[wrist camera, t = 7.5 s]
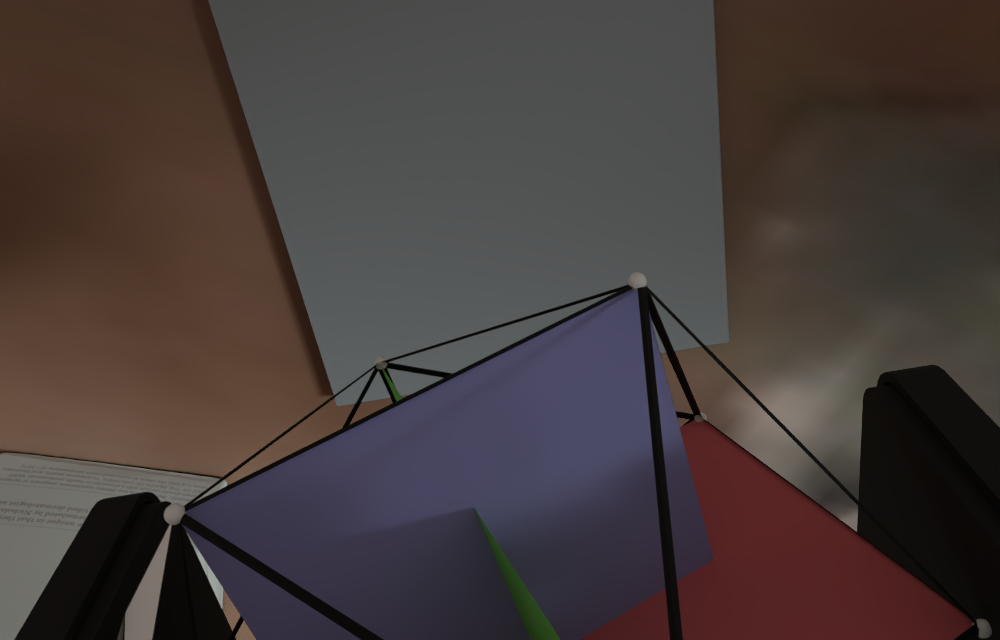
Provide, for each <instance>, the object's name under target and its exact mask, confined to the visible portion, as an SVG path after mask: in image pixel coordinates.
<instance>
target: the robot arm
mask: <svg viewBox="0 0 1000 640" xmlns="http://www.w3.org/2000/svg"><path fill="white" fill-rule="evenodd" d="M859 502H860V503H861V504H862V505H863V506H864V507H865V508H866V509H867V510H868V511H869V512H870V513H871V514H872V515H873V516H874V517H875V518H876V519H877V521H878V522H879V523H880V524H881V525H882V526H883V527H884V528H885V529H886V530H887V531H888V532H889V533H890V534H891V535H892V536H893V537H894V538H895V539H896V540H897V541H898V542H899V543H900V544H901V545H902V546H903V547H904V548H905V549H906V550H907V551H908V552H909V553H910V554H911V555H912V556H913V557H914V558H915V559H916V560H917V561H918V562H919V563H920V564H921V565H922V566H923V567H924V568H925V569H926V570H927V571H928V572H929V573H930V574H931V575H932V576H933V577H934V578H935V579H936V580H937V581H938V582H939V583H940V585H941V586H942V587H943V588H944V589H945V590H946V591H947V592H948V593H949V594H950V595H951V596H952V597H953V598H954V599H955V600H956V601H957V602H958V603H959V604H960V605H961V606H962V607H963V608H964V609H965V610H966V611H967V612H968V613H969V614H970V615H971V616H972V617H973V618H974V619H975V620H976V619H985V620H987V621H988V623H989V624H990V627H991V630H992V634H991V636H990V637H988V638H980V637H979V639H978V640H1000V428H999V427H998V426H997V425H996V423H995V422H994V421H993V420H992V419H991V418H990V417H989V416H988V415H987V414H986V413H985V412H984V411H983V410H982V409H981V408H980V407H979V406H978V405H977V404H976V403H975V402H974V401H973V400H972V399H971V398H970V397H969V396H968V395H967V394H966V393H965V392H964V391H963V389H962V388H961V387H960V386H959V385H958V384H957V383H956V382H955V381H954V380H953V379H952V378H951V377H950V376H949V375H948V374H947V373H946V372H945V371H944V370H943V369H941V368H940V367H939V366H936V365H928V366H921V367H915V368H909V369H903V370H897V371H890V372H885V373H883V374H881V375H880V377H879V379H878V383H877V387H872V388H868V389H866V391H865V393H864V397H863V412H862V435H861V457H860V480H859ZM169 505H171V503H170V502H168V501H163V502H161V501H160V500H159V498H158V497H157V496H156V495H155V494H153V493H152V492H142V493H136V494H129V495H123V496H117V497H111V498H105V499H102V500H100V501H98V502H97V503H96V504H95V505H94V506H93V508H92V509H91V511H90V513H89V514H88V516H87V518H86V519H85V521H84V523H83V524H82V526H81V528H80V529H79V531H78V533H77V535H76V536H75V538H74V540H73V541H72V543H71V545H70V546H69V548H68V550H67V551H66V553H65V555H64V556H63V558H62V560H61V562H60V563H59V565H58V567H57V568H56V570H55V572H54V573H53V575H52V577H51V578H50V580H49V582H48V583H47V585H46V587H45V589H44V590H43V592H42V594H41V595H40V597H39V599H38V600H37V602H36V604H35V605H34V607H33V609H32V610H31V612H30V614H29V616H28V617H27V619H26V621H25V622H24V624H23V626H22V627H21V629H20V631H19V632H18V634H17V636H16V637H15V639H14V640H117V637H118V633H119V630H120V626H121V623H122V620H123V616H124V613H125V610H126V608H127V606H128V604H129V602H130V600H131V598H132V596H133V594H134V592H135V590H136V588H137V586H138V584H139V582H140V580H141V578H142V576H143V574H144V572H145V570H146V568H147V566H148V564H149V562H150V560H151V558H152V556H153V554H154V552H155V550H156V548H157V546H158V544H159V542H160V540H161V538H162V536H163V534H164V532H165V530H166V528H167V526H168V524H169V523H167V522H166V521H165V519H164V511H165V509H166V508H167V507H168V506H169ZM181 529H182V536H183V543H184V550H185V557H186V564H187V571H188V578H189V585H190V591H191V598H192V605H193V612H194V619H195V626H196V633H197V640H228V639H229V637H230V635H231V633H232V630H231V627H230V625H229V623H228V621H227V619H226V617H225V614H224V612H223V610H222V608H221V606H220V604H219V601H218V599H217V597H216V595H215V593H214V591H213V589H212V586H211V584H210V582H209V580H208V578H207V576H206V573H205V571H204V569H203V567H202V565H201V563H200V560H199V558H198V556H197V554H196V552H195V550H194V547H193V545H192V543H191V541H190V539H189V537H188V534H187V532H186V530H185V529H184V527H183V526H182V524H181ZM857 533H858V534H860V535H861V536H863V537H864V538H865V539H867V540H868V541H869V542H871V543H872V544H873V545H875V546H876V547H877V548H879V549H880V550H881V551H883V552H884V553H885V554H887V555H888V556H889V557H891V558H892V559H894V560H895V561H896V562H898V563H899V564H900V565H902V566H903V567H904V568H906V569H907V570H908V571H910V572H911V573H912V574H914V575H915V576H916V577H918V578H919V579H920V580H922V581H923V582H925V583H926V584H927V585H929V586H930V587H931V588H933V589H934V590H935V591H937V592H938V593H939V594H941V595H942V596H943V597H945V598H946V599H947V600H949V601H950V602H951V603H953V602H952V600H951V599H950V598H949V597H948V596H947V595H946V594H945V593H944V592H943V591H942V590H941V589H940V588H939V587H938V586H937V585H936V584H935V583H934V582H933V581H932V580H931V579H930V578H929V577H928V576H927V575H926V574H925V573H924V572H923V571H922V570H921V569H920V568H919V567H918V566H917V565H916V564H915V563H914V562H913V561H912V560H911V559H910V558H909V557H908V556H907V555H906V554H905V553H904V552H903V551H902V550H901V549H900V548H899V547H898V546H897V545H896V544H895V543H894V542H893V541H892V540H891V539H890V538H889V536H888V535H887V534H886V533H885V532H884V531H883V530H882V529H881V528H880V527H879V526H878V525H877V524H876V523H875V522H874V521H873V520H872V519H871V518H870V517H869V516H868V515H867V514H866V513H865V512H864V511H863V510H862V509H861V508H860V507H859V506H858V525H857ZM953 604H954V603H953ZM954 605H955V604H954ZM188 609H189V608H188ZM189 619H190V614H189ZM190 628H191V638H192V640H193V634H192V627H191V621H190ZM124 632H125V621H124ZM123 640H124V636H123ZM153 640H188V639H187V630H186V620H185V610H184V601H183V591H182V582H181V572H180V563H179V553H178V544H177V534H176V525H172V529H171V535H170V541H169V547H168V553H167V559H166V565H165V570H164V576H163V582H162V588H161V594H160V600H159V606H158V612H157V618H156V623H155V629H154V635H153ZM233 640H236V638H235V637H234V639H233ZM973 640H974V639H973Z"/></svg>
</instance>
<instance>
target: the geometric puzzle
mask: <svg viewBox="0 0 1000 640" xmlns="http://www.w3.org/2000/svg"><path fill="white" fill-rule="evenodd" d="M646 283H647V280H646V277H645V276H644V275H643V274H642V273H639V272H636V273H633V274H631V275H630V277H629V279H628V285H625V286H622V287H619V288H616V289H612V290H609V291H606V292H603V293H600V294H596V295H593V296H590V297H587V298H584V299H580V300H577V301H574V302H571V303H568V304H564V305H561V306H558V307H555V308H552V309H548V310H545V311H542V312H539V313H536V314H532V315H529V316H526V317H523V318H519V319H516V320H513V321H510V322H507V323H503V324H500V325H497V326H494V327H491V328H487V329H484V330H481V331H478V332H475V333H471V334H468V335H465V336H462V337H459V338H455V339H452V340H449V341H446V342H443V343H439V344H436V345H433V346H430V347H427V348H423V349H420V350H417V351H414V352H411V353H407V354H404V355H401V356H398V357H395V358H391V359H388V360H387V359H386V358H384V357H378V358H377V359H376V360H375V366H373V367H372V368H371V369H369V370H368V371H367V372H365V373H364V374H362V375H361V376H360V377H358V378H357V379H356V380H354V381H353V382H352V383H350V384H349V385H347V386H346V387H345V388H343V389H342V390H341V391H339V392H338V393H337V394H335V395H334V396H333V397H331V398H330V399H328V400H327V401H326V402H324V403H323V404H322V405H320V406H319V407H318V408H316V409H315V410H314V411H312V412H311V413H309V414H308V415H307V416H305V417H304V418H303V419H301V420H300V421H299V422H297V423H296V424H294V425H293V426H292V427H290V428H289V429H288V430H286V431H285V432H284V433H282V434H281V435H280V436H278V437H277V438H275V439H274V440H273V441H271V442H270V443H269V444H267V445H266V446H265V447H263V448H262V449H260V450H259V451H258V452H256V453H255V454H254V455H252V456H251V457H250V458H248V459H247V460H246V461H244V462H243V463H241V464H240V465H239V466H237V467H236V468H235V469H233V470H232V471H231V472H229V473H228V474H227V475H225V476H224V477H222V478H221V479H220V480H218V481H217V482H216V483H214V484H213V485H212V486H210V487H209V488H207V489H206V490H205V491H203V492H202V493H201V494H199V495H198V496H197V497H195V498H194V499H193V500H191V501H190V502H188V503H187V504H186V505H184V506H183V505H181V504H178V503H174V504H171V505H169V506H168V507H167V508H166V509H165V511H164V519H165V521H166V522H167V523H169V524H168V526H167V528H166V530H165V532H164V534H163V536H162V538H161V540H160V542H159V544H158V546H157V548H156V550H155V552H154V554H153V556H152V558H151V560H150V562H149V564H148V566H147V568H146V570H145V572H144V574H143V576H142V578H141V580H140V582H139V584H138V586H137V588H136V590H135V592H134V594H133V596H132V598H131V600H130V602H129V604H128V606H127V608H126V610H125V613H124V616H123V620H122V623H121V626H120V630H119V633H118V637H117V640H123V636H124V640H153V635H154V629H155V623H156V618H157V612H158V606H159V600H160V594H161V588H162V582H163V576H164V570H165V565H166V559H167V553H168V547H169V541H170V535H171V529H172V525H176V534H177V544H178V553H179V563H180V572H181V582H182V591H183V601H184V610H185V620H186V630H187V639H188V640H192V638H191V628H190V621H191V627H192V634H193V640H197V633H196V626H195V619H194V612H193V605H192V598H191V591H190V585H189V578H188V571H187V564H186V557H185V550H184V543H183V536H182V529H181V524H182V526H183V527H184V529H185V530H186V532H187V533H188V535H189V536H190V538H191V539H192V541H193V542H194V544H195V546H196V547H197V549H198V550H199V552H200V553H201V555H202V556H203V558H204V559H205V561H206V563H207V564H208V566H209V567H210V569H211V570H212V572H213V573H214V575H215V576H216V578H217V579H218V581H219V583H220V584H221V586H222V587H223V589H224V590H225V592H226V593H227V595H228V596H229V598H230V599H231V601H232V603H233V604H234V606H235V607H236V609H237V610H238V612H239V613H240V615H241V617H240V618H239V620H238V622H237V624H236V626H235V628H234V630H233V631H232V633H231V635H230V637H229V639H228V640H233V639H234V637H235V635H236V634H237V632H238V630H239V628H240V626H241V624H242V622H243V621H245V623H246V624H247V626H248V627H249V629H250V630H251V632H252V633H253V635H254V636H255V638H256V639H257V640H973V639H974V640H978V639H979V637H980V638H988V637H990V636H991V634H992V630H991V627H990V624H989V623H988V621H987V620H985V619H976V620H975V619H974V618H973V617H972V616H971V615H970V614H969V613H968V612H967V611H966V610H965V609H964V608H963V607H962V606H961V605H960V604H959V603H958V602H957V601H956V600H955V599H954V598H953V597H952V596H951V595H950V594H949V593H948V592H947V591H946V590H945V589H944V588H943V587H942V586H941V585H940V583H939V582H938V581H937V580H936V579H935V578H934V577H933V576H932V575H931V574H930V573H929V572H928V571H927V570H926V569H925V568H924V567H923V566H922V565H921V564H920V563H919V562H918V561H917V560H916V559H915V558H914V557H913V556H912V555H911V554H910V553H909V552H908V551H907V550H906V549H905V548H904V547H903V546H902V545H901V544H900V543H899V542H898V541H897V540H896V539H895V538H894V537H893V536H892V535H891V534H890V533H889V532H888V531H887V530H886V529H885V528H884V527H883V526H882V525H881V524H880V523H879V522H878V521H877V519H876V518H875V517H874V516H873V515H872V514H871V513H870V512H869V511H868V510H867V509H866V508H865V507H864V506H863V505H862V504H861V503H860V502H859V501H858V500H857V499H856V498H855V497H854V496H853V495H852V494H851V493H850V492H849V491H848V490H847V489H846V488H845V487H844V486H843V485H842V484H841V483H840V482H839V481H838V480H837V479H836V478H835V477H834V476H833V475H832V474H831V473H830V472H829V471H828V470H827V469H826V468H825V467H824V466H823V465H822V464H821V463H820V462H819V461H818V460H817V459H816V458H815V457H814V455H813V454H812V453H811V452H810V451H809V450H808V449H807V448H806V447H805V446H804V445H803V444H802V443H801V442H800V441H799V440H798V439H797V438H796V437H795V436H794V435H793V434H792V433H791V432H790V431H789V430H788V429H787V428H786V427H785V426H784V425H783V424H782V423H781V422H780V421H779V420H778V419H777V418H776V417H775V416H774V415H773V414H772V413H771V412H770V411H769V410H768V409H767V408H766V407H765V406H764V405H763V404H762V403H761V402H760V401H759V400H758V399H757V398H756V397H755V396H754V395H753V394H752V393H751V391H750V390H749V389H748V388H747V387H746V386H745V385H744V384H743V383H742V382H741V381H740V380H739V379H738V378H737V377H736V376H735V375H734V374H733V373H732V372H731V371H730V370H729V369H728V368H727V367H726V366H725V365H724V364H723V363H722V362H721V361H720V360H719V359H718V358H717V357H716V356H715V355H714V354H713V353H712V352H711V351H710V350H709V349H708V348H707V347H706V346H705V345H704V344H703V343H702V342H701V341H700V340H699V339H698V338H697V337H696V336H695V335H694V334H693V333H692V332H691V331H690V330H689V329H688V327H687V326H686V325H685V324H684V323H683V322H682V321H681V320H680V319H679V318H678V317H677V316H676V315H675V314H674V313H673V312H672V311H671V310H670V309H669V308H668V307H667V306H666V305H665V304H664V303H663V302H662V301H661V300H660V299H659V298H658V297H657V296H656V295H655V294H654V293H653V292H652V291H651V290H650V289H649V288H648V287H647V286H646ZM615 292H616V293H615ZM611 293H614V294H612V295H610V296H608V297H606V298H604V299H602V300H600V301H598V302H596V303H594V304H592V305H590V306H588V307H586V308H584V309H582V310H579V311H577V312H575V313H573V314H571V315H569V316H567V317H565V318H563V319H561V320H559V321H557V322H555V323H553V324H551V325H549V326H547V327H545V328H543V329H541V330H539V331H537V332H535V333H533V334H531V335H529V336H527V337H525V338H523V339H521V340H519V341H517V342H515V343H513V344H511V345H509V346H507V347H505V348H503V349H501V350H499V351H497V352H495V353H493V354H491V355H489V356H487V357H485V358H483V359H481V360H479V361H477V362H475V363H473V364H471V365H469V366H467V367H465V368H463V369H461V370H459V371H457V372H455V373H447V372H441V371H435V370H429V369H423V368H418V367H412V366H406V365H400V364H394V363H388V362H391V361H394V360H397V359H400V358H404V357H407V356H410V355H413V354H417V353H420V352H423V351H426V350H430V349H433V348H436V347H439V346H442V345H446V344H449V343H452V342H455V341H459V340H462V339H465V338H468V337H472V336H475V335H478V334H481V333H485V332H488V331H491V330H494V329H498V328H501V327H504V326H507V325H511V324H514V323H517V322H520V321H524V320H527V319H530V318H533V317H537V316H540V315H543V314H546V313H550V312H553V311H556V310H559V309H563V308H566V307H569V306H572V305H576V304H579V303H582V302H585V301H589V300H592V299H595V298H598V297H602V296H605V295H608V294H611ZM651 296H652V297H653V298H654V299H655V300H656V301H657V302H658V303H659V304H660V305H661V306H662V307H663V308H664V309H665V310H666V311H667V312H668V313H669V314H670V315H671V316H672V317H673V318H674V319H675V320H676V321H677V322H678V323H679V324H680V325H681V326H682V327H683V328H684V329H685V330H686V331H687V332H688V333H689V334H690V335H691V336H692V337H693V338H694V339H695V340H696V341H697V342H698V343H699V344H700V346H701V347H702V348H703V349H704V350H705V351H706V352H707V353H708V354H709V355H710V356H711V357H712V358H713V359H714V360H715V361H716V362H717V363H718V364H719V365H720V366H721V367H722V368H723V369H724V370H725V371H726V372H727V373H728V374H729V375H730V376H731V377H732V378H733V379H734V380H735V381H736V382H737V383H738V384H739V385H740V386H741V387H742V388H743V389H744V390H745V391H746V392H747V393H748V394H749V395H750V396H751V397H752V398H753V399H754V400H755V401H756V402H757V403H758V404H759V405H760V406H761V407H762V408H763V410H764V411H765V412H766V413H767V414H768V415H769V416H770V417H771V418H772V419H773V420H774V421H775V422H776V423H777V424H778V425H779V426H780V427H781V428H782V429H783V430H784V431H785V432H786V433H787V434H788V435H789V436H790V437H791V438H792V439H793V440H794V441H795V442H796V443H797V444H798V445H799V446H800V447H801V448H802V449H803V450H804V451H805V452H806V453H807V454H808V455H809V456H810V457H811V458H812V459H813V460H814V461H815V462H816V463H817V464H818V465H819V466H820V467H821V468H822V469H823V470H824V471H825V472H826V474H827V475H828V476H829V477H830V478H831V479H832V480H833V481H834V482H835V483H836V484H837V485H838V486H839V487H840V488H841V489H842V490H843V491H844V492H845V493H846V494H847V495H848V496H849V497H850V498H851V499H852V500H853V501H854V502H855V503H856V504H857V505H858V506H859V507H860V508H861V509H862V510H863V511H864V512H865V513H866V514H867V515H868V516H869V517H870V518H871V519H872V520H873V521H874V522H875V523H876V524H877V525H878V526H879V527H880V528H881V529H882V530H883V531H884V532H885V533H886V534H887V535H888V536H889V538H890V539H891V540H892V541H893V542H894V543H895V544H896V545H897V546H898V547H899V548H900V549H901V550H902V551H903V552H904V553H905V554H906V555H907V556H908V557H909V558H910V559H911V560H912V561H913V562H914V563H915V564H916V565H917V566H918V567H919V568H920V569H921V570H922V571H923V572H924V573H925V574H926V575H927V576H928V577H929V578H930V579H931V580H932V581H933V582H934V583H935V584H936V585H937V586H938V587H939V588H940V589H941V590H942V591H943V592H944V593H945V594H946V595H947V596H948V597H949V598H950V599H951V600H952V602H953V603H954V604H955V605H954V604H953V603H951V602H950V601H949V600H947V599H946V598H945V597H943V596H942V595H941V594H939V593H938V592H937V591H935V590H934V589H933V588H931V587H930V586H929V585H927V584H926V583H925V582H923V581H922V580H920V579H919V578H918V577H916V576H915V575H914V574H912V573H911V572H910V571H908V570H907V569H906V568H904V567H903V566H902V565H900V564H899V563H898V562H896V561H895V560H894V559H892V558H891V557H889V556H888V555H887V554H885V553H884V552H883V551H881V550H880V549H879V548H877V547H876V546H875V545H873V544H872V543H871V542H869V541H868V540H867V539H865V538H864V537H863V536H861V535H860V534H858V533H857V532H856V531H854V530H853V529H852V528H850V527H849V526H848V525H846V524H845V523H844V522H842V521H841V520H840V519H838V518H837V517H836V516H834V515H833V514H831V513H830V512H829V511H827V510H826V509H825V508H823V507H822V506H821V505H819V504H818V503H817V502H815V501H814V500H813V499H811V498H810V497H809V496H807V495H806V494H805V493H803V492H802V491H800V490H799V489H798V488H796V487H795V486H794V485H792V484H791V483H790V482H788V481H787V480H786V479H784V478H783V477H782V476H780V475H779V474H778V473H776V472H775V471H774V470H772V469H771V468H769V467H768V466H767V465H765V464H764V463H763V462H761V461H760V460H759V459H757V458H756V457H755V456H753V455H752V454H751V453H749V452H748V451H747V450H745V449H744V448H743V447H741V446H740V445H738V444H737V443H736V442H734V441H733V440H732V439H730V438H729V437H728V436H726V435H725V434H724V433H722V432H721V431H720V430H718V429H717V428H716V427H714V426H713V425H712V424H710V423H709V422H707V417H706V415H705V414H704V413H701V412H700V411H699V408H698V406H697V404H696V401H695V399H694V397H693V394H692V392H691V389H690V387H689V385H688V382H687V380H686V378H685V375H684V373H683V370H682V368H681V366H680V363H679V361H678V358H677V356H676V354H675V351H674V349H673V347H672V344H671V342H670V339H669V337H668V335H667V332H666V330H665V328H664V325H663V323H662V320H661V318H660V316H659V313H658V311H657V309H656V306H655V304H654V301H653V299H652V297H651ZM651 319H652V320H651ZM652 322H653V324H654V326H655V328H656V330H657V333H658V335H659V337H660V339H661V342H662V344H663V346H664V348H665V351H666V353H667V355H668V357H669V360H670V362H671V364H672V366H673V369H674V371H675V373H676V375H677V378H678V380H679V382H680V384H681V386H682V389H683V391H684V393H685V395H686V398H687V400H688V402H689V404H690V407H691V409H692V411H693V413H694V414H688V413H682V412H676V411H675V408H674V404H673V401H672V397H671V393H670V389H669V385H668V381H667V378H666V374H665V370H664V366H663V362H662V358H661V355H660V351H659V347H658V343H657V339H656V335H655V331H654V328H653V324H652ZM374 368H375V369H374ZM387 368H389V369H395V370H401V371H407V372H412V373H418V374H424V375H430V376H436V377H442V378H443V379H441V380H439V381H437V382H435V383H433V384H431V385H429V386H427V387H425V388H423V389H421V390H419V391H417V392H415V393H413V394H411V395H409V396H407V397H405V398H402V397H401V395H400V394H399V392H398V391H397V389H396V388H395V385H394V383H393V381H392V379H391V376H390V374H389V372H388V370H387ZM373 369H374V371H373V372H372V374H371V376H370V378H369V380H368V382H367V383H366V385H365V387H364V389H363V391H362V393H361V395H360V396H359V398H358V400H357V402H356V404H355V406H354V408H353V409H352V411H351V413H350V415H349V417H348V419H347V420H346V422H345V424H344V426H343V428H342V429H340V430H338V431H336V432H334V433H332V434H330V435H328V436H326V437H324V438H322V439H320V440H318V441H316V442H314V443H312V444H310V445H308V446H306V447H304V448H302V449H300V450H298V451H296V452H294V453H292V454H290V455H288V456H286V457H284V458H282V459H280V460H278V461H276V462H274V463H272V464H270V465H268V466H266V467H264V468H262V469H260V470H258V471H256V472H254V473H252V474H250V475H248V476H246V477H244V478H242V479H240V480H238V481H236V482H234V483H232V484H230V485H228V486H226V487H224V488H222V489H220V490H218V491H216V492H214V493H212V494H210V495H208V496H206V497H204V498H202V499H200V500H198V499H199V498H200V497H202V496H203V495H204V494H206V493H207V492H208V491H210V490H211V489H212V488H214V487H215V486H216V485H218V484H219V483H220V482H222V481H223V480H224V479H226V478H227V477H228V476H230V475H231V474H233V473H234V472H235V471H237V470H238V469H239V468H241V467H242V466H243V465H245V464H246V463H247V462H249V461H250V460H251V459H253V458H254V457H255V456H257V455H258V454H259V453H261V452H262V451H263V450H265V449H266V448H268V447H269V446H270V445H272V444H273V443H274V442H276V441H277V440H278V439H280V438H281V437H282V436H284V435H285V434H286V433H288V432H289V431H290V430H292V429H293V428H294V427H296V426H297V425H298V424H300V423H301V422H303V421H304V420H305V419H307V418H308V417H309V416H311V415H312V414H313V413H315V412H316V411H317V410H319V409H320V408H321V407H323V406H324V405H325V404H327V403H328V402H329V401H331V400H332V399H333V398H335V397H336V396H338V395H339V394H340V393H342V392H343V391H344V390H346V389H347V388H348V387H350V386H351V385H352V384H354V383H355V382H356V381H358V380H359V379H360V378H362V377H363V376H364V375H366V374H367V373H368V372H370V371H371V370H373ZM378 371H379V373H380V375H381V377H382V380H383V382H384V384H385V386H386V388H387V391H388V393H389V395H390V397H391V399H392V402H393V404H391V405H389V406H387V407H385V408H383V409H381V410H379V411H377V412H374V413H372V414H370V415H368V416H366V417H364V418H362V419H360V420H358V421H356V422H354V423H352V424H350V422H351V420H352V418H353V417H354V415H355V413H356V411H357V409H358V407H359V405H360V404H361V402H362V400H363V398H364V396H365V394H366V392H367V391H368V389H369V387H370V385H371V383H372V381H373V379H374V378H375V376H376V374H377V372H378ZM677 417H679V418H685V419H690V420H689V421H688V422H687V423H685V424H684V425H683V426H682V427H679V424H678V420H677ZM349 424H350V425H349ZM196 500H198V501H196ZM195 501H196V502H195ZM193 502H194V503H193ZM188 608H189V609H188ZM189 614H190V619H189ZM124 621H125V632H124Z"/></svg>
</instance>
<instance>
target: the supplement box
mask: <svg viewBox="0 0 1000 640" xmlns="http://www.w3.org/2000/svg"><path fill="white" fill-rule="evenodd" d="M218 480H220V479H219V478H213V477H206V476H197V475H191V474H183V473H176V472H167V471H158V470H151V469H144V468H136V467H127V466H120V465H113V464H106V463H97V462H89V461H79V460H72V459H64V458H55V457H46V456H40V455H30V454H19V453H1V454H0V640H14V639H15V637H16V636H17V634H18V632H19V631H20V629H21V627H22V626H23V624H24V622H25V621H26V619H27V617H28V616H29V614H30V612H31V610H32V609H33V607H34V605H35V604H36V602H37V600H38V599H39V597H40V595H41V594H42V592H43V590H44V589H45V587H46V585H47V583H48V582H49V580H50V578H51V577H52V575H53V573H54V572H55V570H56V568H57V567H58V565H59V563H60V562H61V560H62V558H63V556H64V555H65V553H66V551H67V550H68V548H69V546H70V545H71V543H72V541H73V540H74V538H75V536H76V535H77V533H78V531H79V529H80V528H81V526H82V524H83V523H84V521H85V519H86V518H87V516H88V514H89V513H90V511H91V509H92V508H93V506H94V505H95V504H96V503H97V502H98V501H100V500H102V499H105V498H111V497H117V496H123V495H129V494H136V493H142V492H152V493H153V494H155V495H156V496H157V497H158V498H159V500H160V501H161V502H163V501H168V502H170V503H171V504H174V503H178V504H181V505H183V506H184V505H186V504H187V503H188V502H190V501H191V500H193V499H194V498H195V497H197V496H198V495H199V494H201V493H202V492H203V491H205V490H206V489H207V488H209V487H210V486H212V485H213V484H214V483H216V482H217V481H218ZM226 486H227V482H226V481H225V480H223V481H222V482H220V483H219V484H218V485H216V486H215V487H214V488H212V489H211V490H210V491H208V492H207V493H206V494H204V495H203V496H202V497H200V498H199V499H198V500H200V499H202V498H204V497H206V496H208V495H210V494H212V493H214V492H216V491H218V490H220V489H222V488H224V487H226ZM198 500H196V501H198ZM196 501H195V502H196ZM193 503H194V502H193ZM187 534H188V533H187ZM188 537H189V539H190V541H191V543H192V545H193V547H194V550H195V552H196V554H197V556H198V558H199V560H200V563H201V565H202V567H203V569H204V571H205V573H206V576H207V578H208V580H209V582H210V584H211V586H212V589H213V591H214V593H215V595H216V597H217V599H218V601H219V604H220V606H221V608H222V604H223V587H222V586H221V584H220V583H219V581H218V579H217V578H216V576H215V575H214V573H213V572H212V570H211V569H210V567H209V566H208V564H207V563H206V561H205V559H204V558H203V556H202V555H201V553H200V552H199V550H198V549H197V547H196V546H195V544H194V542H193V541H192V539H191V538H190V536H189V535H188Z"/></svg>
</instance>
